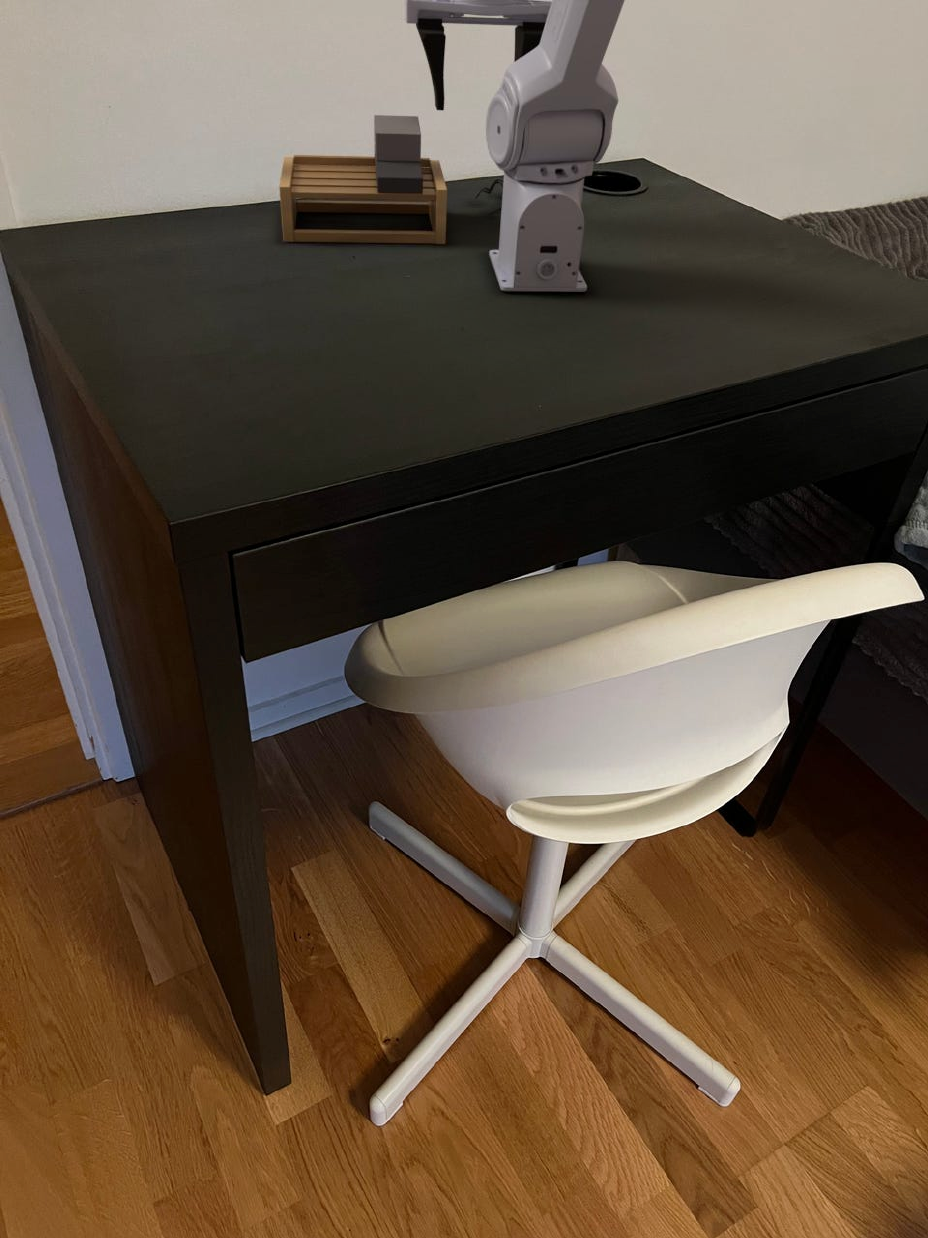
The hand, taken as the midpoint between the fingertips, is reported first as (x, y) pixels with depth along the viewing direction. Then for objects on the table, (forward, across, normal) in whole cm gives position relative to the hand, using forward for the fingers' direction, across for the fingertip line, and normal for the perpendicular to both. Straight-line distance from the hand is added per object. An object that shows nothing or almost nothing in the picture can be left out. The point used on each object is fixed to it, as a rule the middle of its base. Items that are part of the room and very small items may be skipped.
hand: (477, 108), depth 95 cm
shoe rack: (+10, +12, +4) cm, 16 cm away
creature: (+11, -4, -3) cm, 12 cm away
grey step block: (+5, +8, +4) cm, 10 cm away
